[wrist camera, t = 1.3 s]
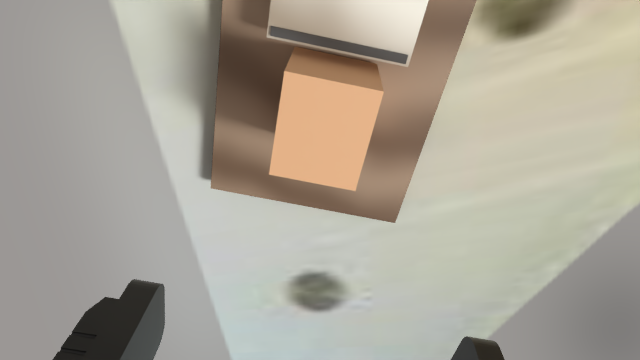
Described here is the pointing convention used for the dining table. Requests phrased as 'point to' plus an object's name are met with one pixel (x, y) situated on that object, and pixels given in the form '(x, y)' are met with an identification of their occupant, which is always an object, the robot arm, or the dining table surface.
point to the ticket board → (342, 40)
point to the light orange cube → (325, 118)
